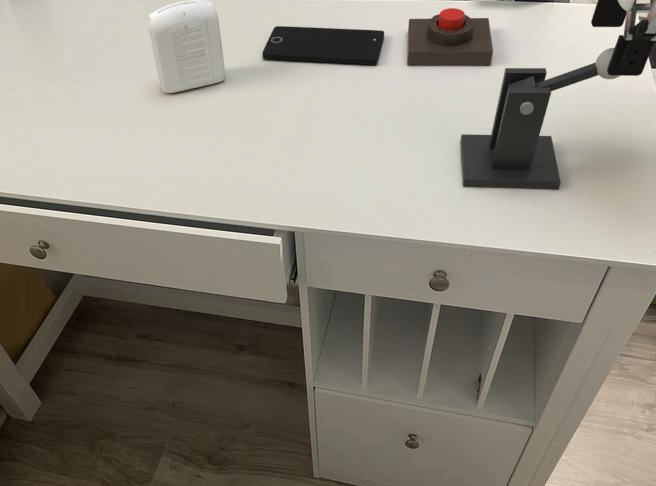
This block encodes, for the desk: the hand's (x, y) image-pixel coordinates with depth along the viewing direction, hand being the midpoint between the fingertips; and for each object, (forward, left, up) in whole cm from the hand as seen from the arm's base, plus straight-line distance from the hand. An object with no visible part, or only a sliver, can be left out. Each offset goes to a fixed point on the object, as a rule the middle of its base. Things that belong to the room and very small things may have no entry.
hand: (614, 48), depth 70 cm
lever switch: (+3, 0, -5) cm, 6 cm away
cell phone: (+33, -28, -16) cm, 46 cm away
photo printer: (+52, -18, -16) cm, 58 cm away
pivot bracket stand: (+8, 0, -16) cm, 17 cm away
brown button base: (+14, -28, -16) cm, 35 cm away
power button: (+14, -28, -12) cm, 34 cm away
